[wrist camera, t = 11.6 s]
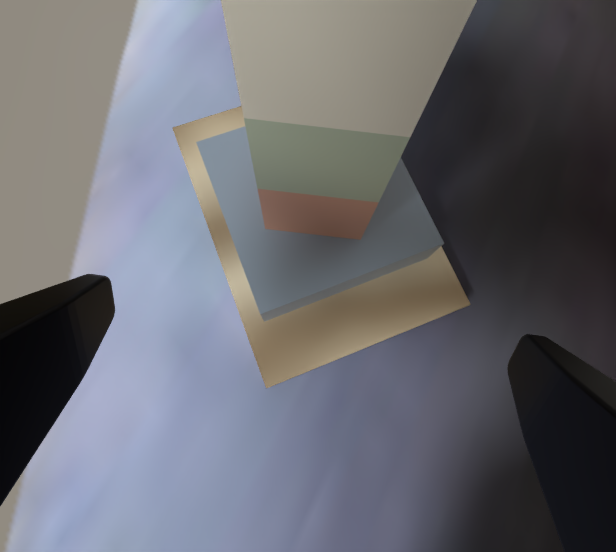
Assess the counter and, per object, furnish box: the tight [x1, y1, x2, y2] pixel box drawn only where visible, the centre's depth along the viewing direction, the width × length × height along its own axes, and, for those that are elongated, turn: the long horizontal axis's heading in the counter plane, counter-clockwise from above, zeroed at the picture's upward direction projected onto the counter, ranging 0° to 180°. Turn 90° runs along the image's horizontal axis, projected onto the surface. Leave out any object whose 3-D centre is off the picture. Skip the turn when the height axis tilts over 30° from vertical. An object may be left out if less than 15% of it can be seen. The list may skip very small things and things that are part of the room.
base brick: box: [196, 126, 444, 322], centre depth 20 cm, size 9×9×2 cm
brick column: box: [221, 0, 477, 240], centre depth 12 cm, size 4×4×13 cm
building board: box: [173, 106, 471, 388], centre depth 22 cm, size 15×11×1 cm
